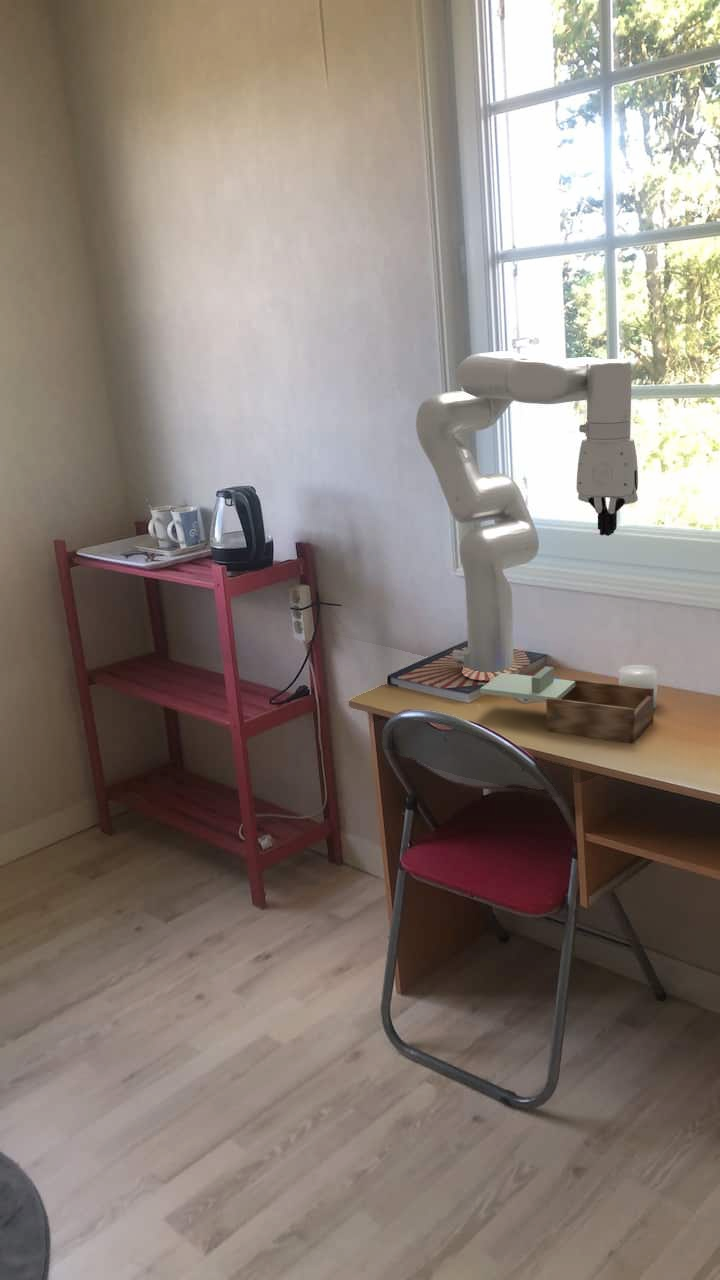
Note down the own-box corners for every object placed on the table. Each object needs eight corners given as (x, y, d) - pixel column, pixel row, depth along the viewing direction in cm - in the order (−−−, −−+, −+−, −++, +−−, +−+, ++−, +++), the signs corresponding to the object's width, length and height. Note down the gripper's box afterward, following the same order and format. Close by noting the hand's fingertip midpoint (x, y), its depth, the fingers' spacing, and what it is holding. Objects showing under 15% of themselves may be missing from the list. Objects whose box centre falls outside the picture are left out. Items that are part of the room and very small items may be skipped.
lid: (480, 693, 205) (479, 674, 204) (501, 677, 213) (501, 658, 212) (556, 703, 197) (556, 683, 196) (575, 686, 205) (575, 667, 204)
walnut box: (546, 730, 199) (546, 698, 197) (569, 709, 208) (569, 678, 207) (633, 743, 191) (633, 709, 189) (653, 720, 200) (653, 688, 199)
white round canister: (614, 708, 208) (614, 673, 206) (625, 697, 213) (625, 663, 211) (650, 713, 204) (651, 677, 202) (661, 701, 210) (661, 666, 208)
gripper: (560, 433, 193) (560, 535, 198) (643, 435, 185) (641, 541, 191) (575, 428, 199) (575, 527, 204) (657, 429, 191) (654, 532, 197)
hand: (607, 533), depth 198 cm, fingers closed
